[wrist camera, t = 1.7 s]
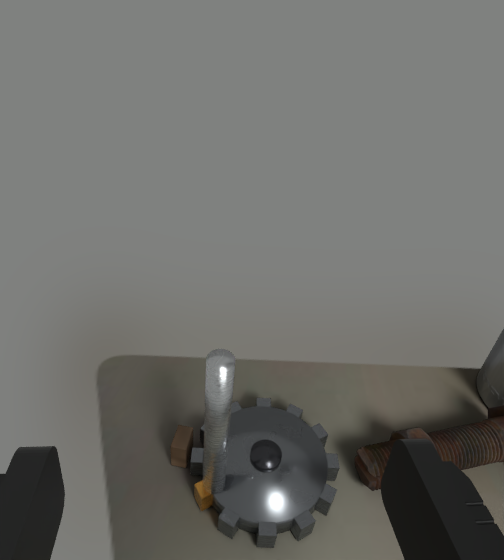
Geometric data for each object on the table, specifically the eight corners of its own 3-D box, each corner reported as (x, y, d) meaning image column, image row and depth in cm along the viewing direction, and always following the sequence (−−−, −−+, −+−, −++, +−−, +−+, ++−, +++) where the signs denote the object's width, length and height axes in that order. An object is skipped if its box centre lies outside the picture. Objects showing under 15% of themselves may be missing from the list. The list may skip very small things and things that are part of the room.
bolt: (349, 485, 38) (502, 450, 41) (379, 525, 33) (550, 482, 36) (345, 419, 37) (502, 389, 40) (376, 450, 32) (552, 413, 35)
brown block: (193, 445, 37) (193, 427, 36) (186, 468, 35) (185, 450, 34) (178, 443, 37) (178, 424, 36) (171, 465, 36) (170, 446, 34)
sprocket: (283, 393, 42) (308, 263, 33) (364, 500, 34) (424, 368, 25) (168, 443, 37) (161, 305, 28) (234, 580, 29) (253, 451, 20)
